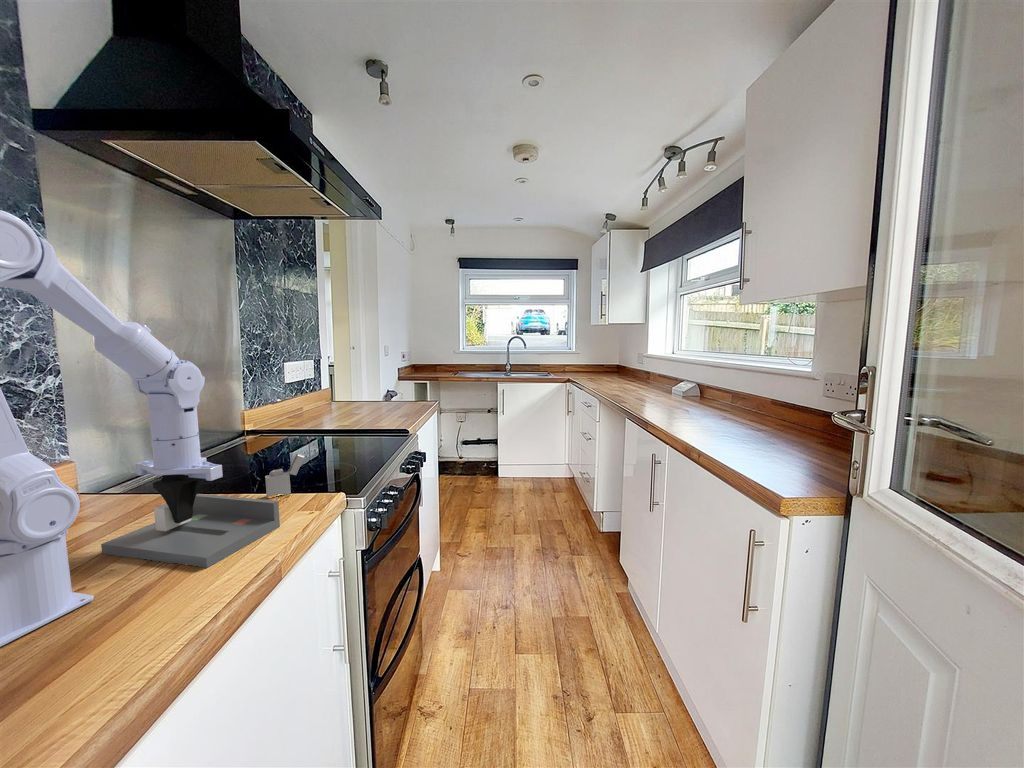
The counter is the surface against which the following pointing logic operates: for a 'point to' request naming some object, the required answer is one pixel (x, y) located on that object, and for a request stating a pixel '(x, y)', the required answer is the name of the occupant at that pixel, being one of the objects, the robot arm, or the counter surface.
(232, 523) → the switch panel
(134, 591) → the counter surface
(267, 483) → the lighter
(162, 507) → the knob
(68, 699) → the counter surface
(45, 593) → the robot arm
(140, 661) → the counter surface
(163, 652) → the counter surface
